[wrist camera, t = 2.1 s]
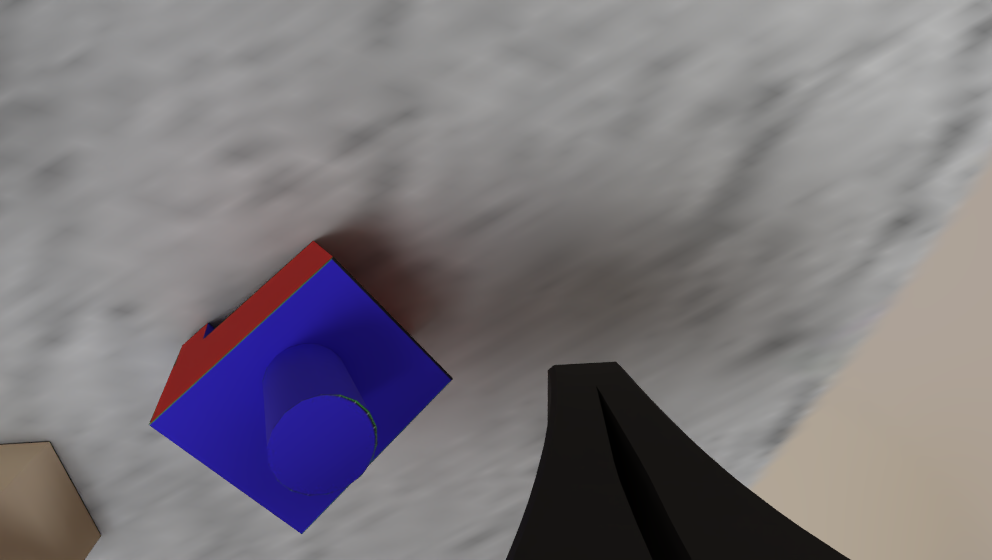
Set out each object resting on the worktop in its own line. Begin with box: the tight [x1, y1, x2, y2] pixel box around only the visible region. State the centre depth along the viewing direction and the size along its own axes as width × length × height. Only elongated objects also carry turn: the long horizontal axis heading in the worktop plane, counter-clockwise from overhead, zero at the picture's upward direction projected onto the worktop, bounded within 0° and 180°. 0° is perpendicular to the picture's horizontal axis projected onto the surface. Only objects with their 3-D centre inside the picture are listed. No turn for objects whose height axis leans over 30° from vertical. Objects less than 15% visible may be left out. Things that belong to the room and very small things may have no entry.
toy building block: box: [149, 241, 453, 534], centre depth 11 cm, size 4×4×8 cm
